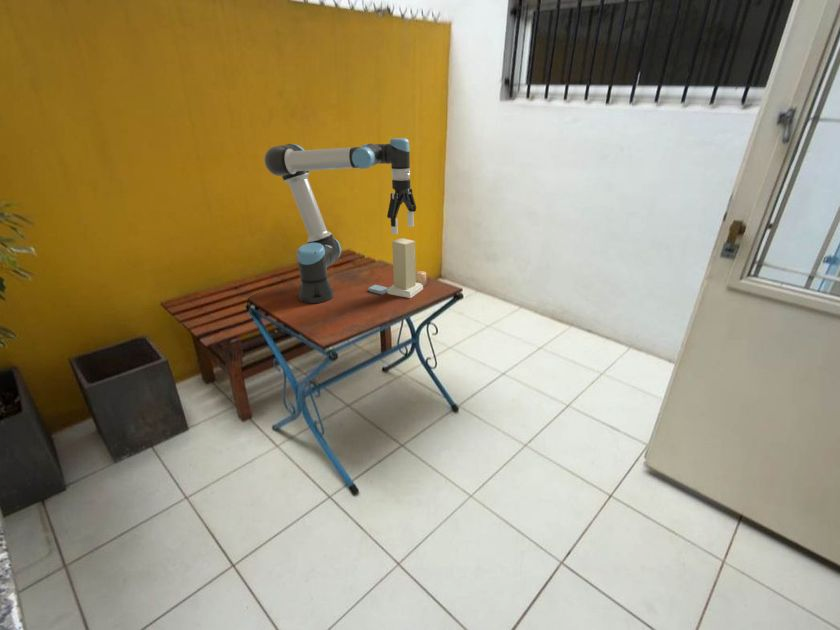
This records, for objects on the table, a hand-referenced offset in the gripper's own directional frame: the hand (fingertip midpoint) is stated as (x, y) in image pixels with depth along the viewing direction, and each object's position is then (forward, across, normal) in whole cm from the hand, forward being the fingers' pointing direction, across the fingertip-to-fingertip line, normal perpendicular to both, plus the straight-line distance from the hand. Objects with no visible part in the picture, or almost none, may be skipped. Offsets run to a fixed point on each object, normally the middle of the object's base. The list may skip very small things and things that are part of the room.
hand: (403, 230), depth 186 cm
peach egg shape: (+29, +10, -3) cm, 31 cm away
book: (+29, -5, +11) cm, 32 cm away
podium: (+29, 0, 0) cm, 29 cm away
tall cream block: (+26, 0, 0) cm, 26 cm away
